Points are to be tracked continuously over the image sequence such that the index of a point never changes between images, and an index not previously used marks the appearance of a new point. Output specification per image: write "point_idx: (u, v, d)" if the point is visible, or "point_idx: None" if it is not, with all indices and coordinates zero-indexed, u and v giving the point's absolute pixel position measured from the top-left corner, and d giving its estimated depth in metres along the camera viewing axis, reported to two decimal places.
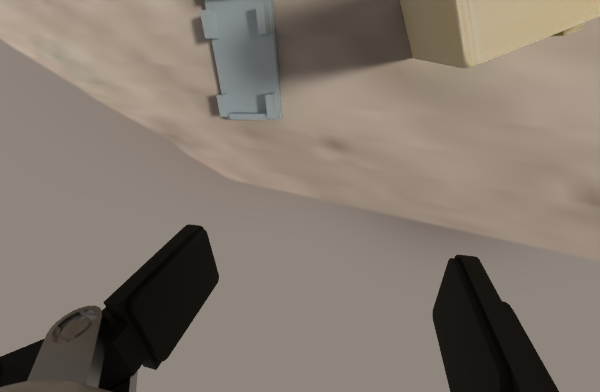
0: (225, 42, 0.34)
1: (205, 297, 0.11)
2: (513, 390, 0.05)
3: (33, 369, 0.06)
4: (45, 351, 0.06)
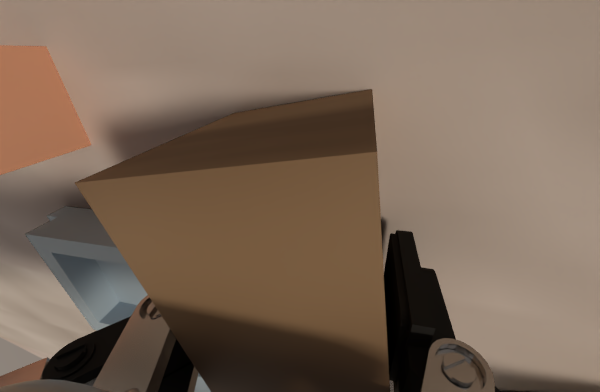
0: None
1: None
2: (410, 326, 0.06)
3: (120, 338, 0.06)
4: (132, 323, 0.07)
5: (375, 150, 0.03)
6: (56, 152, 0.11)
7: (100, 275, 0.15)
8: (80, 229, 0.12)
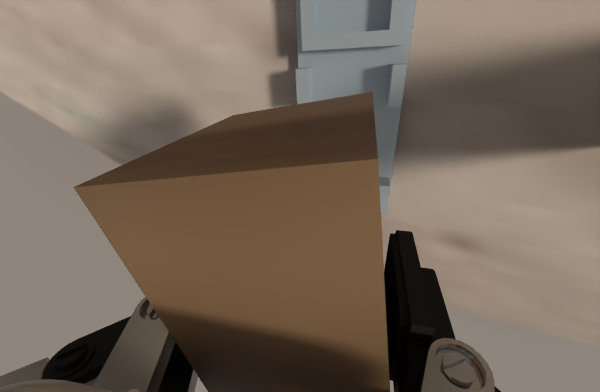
0: None
1: None
2: (410, 326, 0.06)
3: (120, 338, 0.06)
4: (132, 323, 0.07)
5: (376, 157, 0.03)
6: None
7: None
8: None
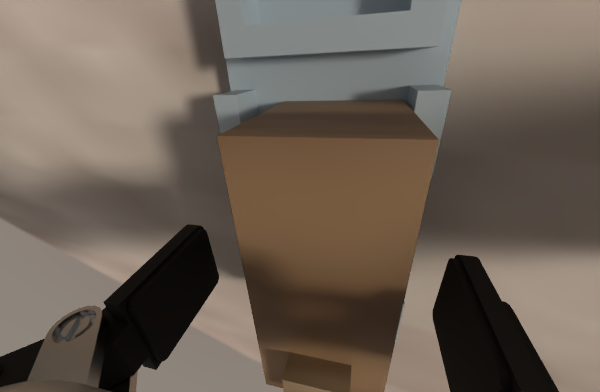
0: None
1: (204, 297, 0.11)
2: (513, 390, 0.05)
3: (33, 369, 0.06)
4: (45, 351, 0.06)
5: (437, 139, 0.05)
6: None
7: None
8: None
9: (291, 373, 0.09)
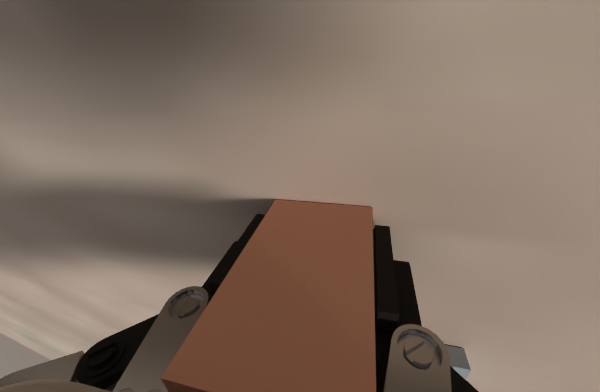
0: None
1: None
2: (377, 313, 0.06)
3: (148, 333, 0.06)
4: (160, 319, 0.07)
5: None
6: None
7: None
8: None
9: None
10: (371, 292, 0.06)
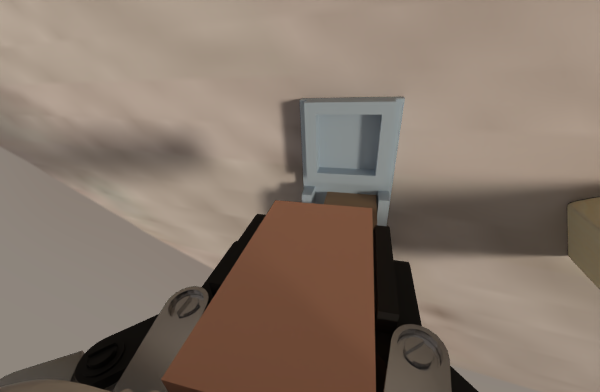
0: None
1: None
2: (377, 313, 0.06)
3: (148, 333, 0.06)
4: (160, 319, 0.07)
5: None
6: None
7: (318, 143, 0.24)
8: (334, 100, 0.22)
9: None
10: (371, 293, 0.06)
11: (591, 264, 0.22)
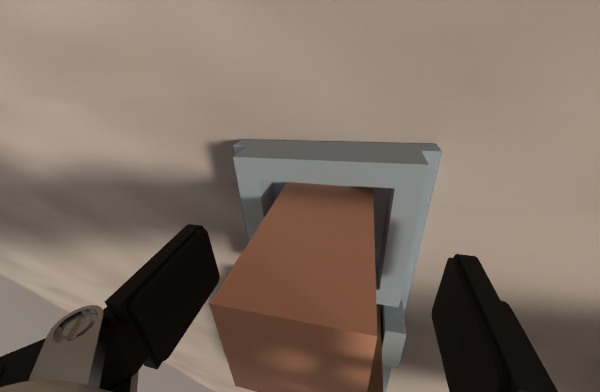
0: None
1: (205, 297, 0.11)
2: (511, 389, 0.05)
3: (35, 368, 0.06)
4: (47, 350, 0.06)
5: None
6: None
7: None
8: (295, 151, 0.11)
9: None
10: (372, 248, 0.08)
11: None
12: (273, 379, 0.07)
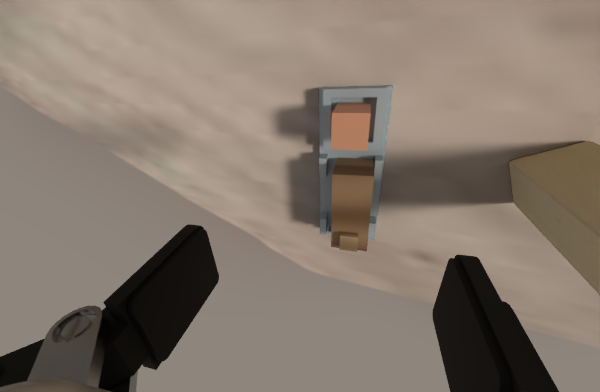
0: None
1: (204, 297, 0.11)
2: (513, 390, 0.05)
3: (33, 369, 0.06)
4: (45, 351, 0.06)
5: None
6: None
7: None
8: (343, 88, 0.31)
9: (342, 234, 0.34)
10: (370, 108, 0.28)
11: (523, 202, 0.31)
12: (343, 140, 0.28)
